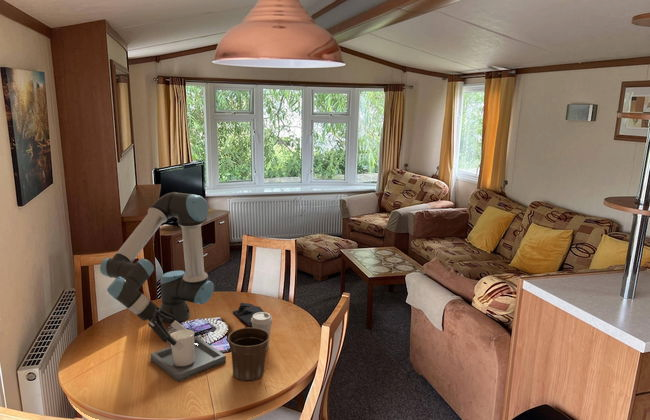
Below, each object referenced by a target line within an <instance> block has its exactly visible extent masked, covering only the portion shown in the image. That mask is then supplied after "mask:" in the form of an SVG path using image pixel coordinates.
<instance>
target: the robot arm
mask: <svg viewBox="0 0 650 420" xmlns="http://www.w3.org/2000/svg"><path fill="white" fill-rule="evenodd" d="M208 214H209V204H208V202H207V200H206V198H204V197H203V196H201V195H198V194H195V193H194V194H193V193H183V192H176V191H172V192H168V193H165V194H164V195H162V196H160V197H159V198H157V200H155V201H154V202H153V203H152V204H151V205H150V207H149V208H148V209H147V214H146V215H145V217H144V218H143V219H142V220H141V221H140V223H139V224H138V225H137V226H136V227H135V229H134V230H133V232H132V233H131V234H130V235H129V236H128V238H127V239H126V240H125V241H124V243H123V244H122V245H121V246H120V248H119V249H118V250H117V251H116V253H115V254H114V255H113V256H112V257H106V258H104V259H103V260H102V261H101V263H100V266H99V271H100V273H101V274H102V275H103V276H106V277H108V278H113V279H114V280H113V281H112V282H111V283H110V284H109V285H108V286H107V290H106V291H107V293H108V294H109V295H110V296H111V297H112V298H113V299H114V300H117V302H119V303H120V304H121V305H123V306H124V307H126V308H127V309H128V310H129V312H132V313H133V314H134V315H137V317H138V318H139V319H140V320H142V321H143V322H145V321H147V320H148V321H149V322H148V323H147V324H148V325H147V326H149V327H150V328H151V329H152V331H154V333H156V335H157V336H158V337H159V339H160V340H161V341H162V343H164V344H165V343H169V344H170V346H171V345H173V346H174V347H175V348H176V349H178V350H179V351H180V350H181V349H182V348H183V347H184V345H183V344H182V343H181V342H180V341H178V340H177V339H176V338H175V337H173V336H170V334H171V333H169V331H168V330H167V328H166V327H165V325H164V323H167V324H170V326H171V327H172V328H173V329H174V330H175V331H179V330H188V329H187V328H186V327H184V326H183V325H182V324H181V322H184V321H186V320H188V319H189V318H190V316H191V310H190V308H189V305H188V303H193V304H194V305H195V304H196V305H197V304H198V305H205V304H206V303H207V302H208V301H209V300H211V298H212V296H213V293H214V289H215V285H214V282H212V281H211V280H209V276H208V273H207V272H206V271H205V267H204V266H205V265H204V251H203V237H202V225H203V224H204V222H205V220H206V219H207V217H208ZM171 218H176V219H177V225H178V226H180V227H181V234H182V244H183V245H182V247H183V256H184V268H185V271H184V270H172V271H168V272H165V273H163V274H162V275H161V277H160V296H161V297H160V298H161V304H160V306H157V304H155V303H154V302H153V301H152V300H150V299H149V298H148V297H147V296H146V295H145V294H143V293H142V292H140V289H141V287H142V286H143V285H144V284H145V283H146V281H148V279H149V278H150V277H151V275H152V273H154V271H155V266H154V265H153V263H152V262H151V261H150V260H149V259H145V258H139V259H138V260H137V261H136V262H134V261H135V259H136V258H137V257H138V255H139V254H140V253H141V251H142V250H143V249H144V248H145V246H146V245H147V243H148V242H149V241H150V240H151V238H152V237H153V236H154V234H155V233H156V232H157V231H158V229H159V228H160V226H161V225H162V224H164V223H165V224H166V222H167V221H168V220H169V219H171Z"/></svg>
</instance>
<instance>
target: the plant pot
mask: <svg viewBox="0 0 650 420" xmlns="http://www.w3.org/2000/svg"><path fill="white" fill-rule="evenodd" d="M227 340H228V343H229V349H230V351H231V352H230V353H231V364H232V374H233V376H234V378H236V379H238V380H240V381H248V380H249V381H255V380H259V379H260V378H261V377H262V376H263V375H264V371H265V361H266V360H265V359H266V354H267V349H266V348H267V344H268V340H269V341H270V339H269V334H268V332H266V331H265V330H262V329H259V328H252V327H242V328H239V329H235V330H232V331H231V332H230V333H229V334H228V336H227Z"/></svg>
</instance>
